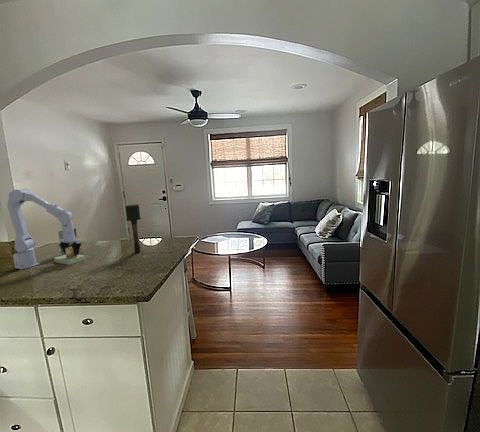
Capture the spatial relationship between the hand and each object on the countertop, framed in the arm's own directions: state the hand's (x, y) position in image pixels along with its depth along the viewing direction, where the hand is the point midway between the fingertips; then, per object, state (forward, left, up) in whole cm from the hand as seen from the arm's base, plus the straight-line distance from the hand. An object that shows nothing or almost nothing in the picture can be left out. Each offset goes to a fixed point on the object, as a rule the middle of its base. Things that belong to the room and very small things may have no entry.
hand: (72, 254), depth 164 cm
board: (0, +3, -4) cm, 5 cm away
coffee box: (+9, +18, -4) cm, 21 cm away
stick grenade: (+27, -24, -4) cm, 36 cm away
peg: (0, 0, -4) cm, 4 cm away
